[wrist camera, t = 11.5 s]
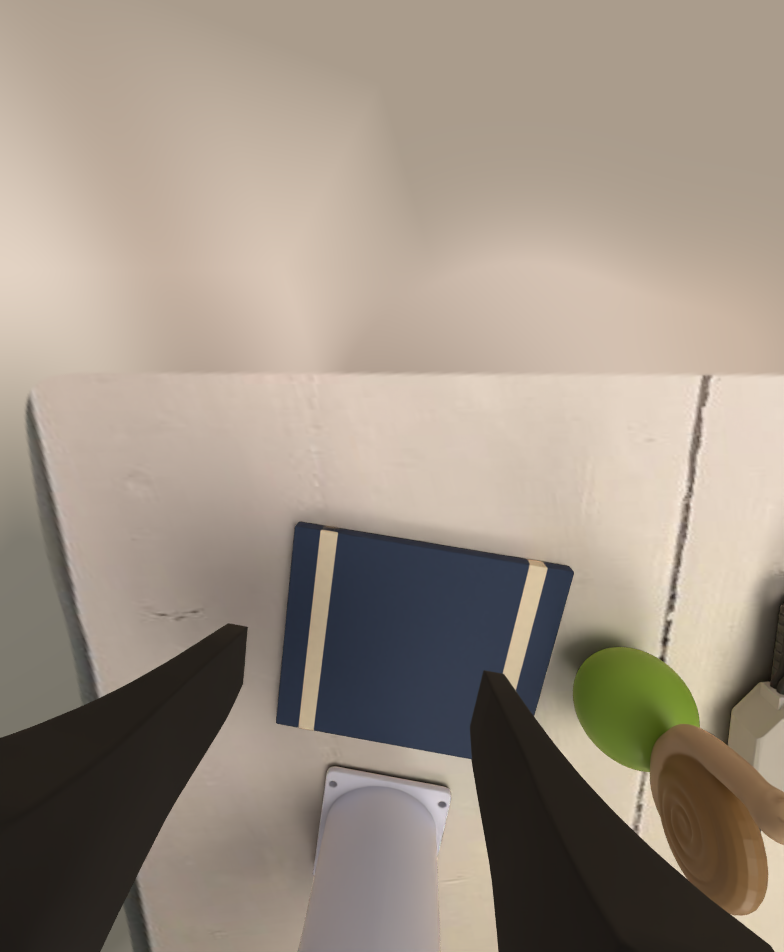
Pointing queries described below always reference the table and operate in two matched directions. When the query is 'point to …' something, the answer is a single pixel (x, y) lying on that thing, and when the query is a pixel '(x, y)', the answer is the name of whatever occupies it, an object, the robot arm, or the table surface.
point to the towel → (410, 635)
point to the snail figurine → (683, 773)
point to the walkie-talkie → (763, 720)
